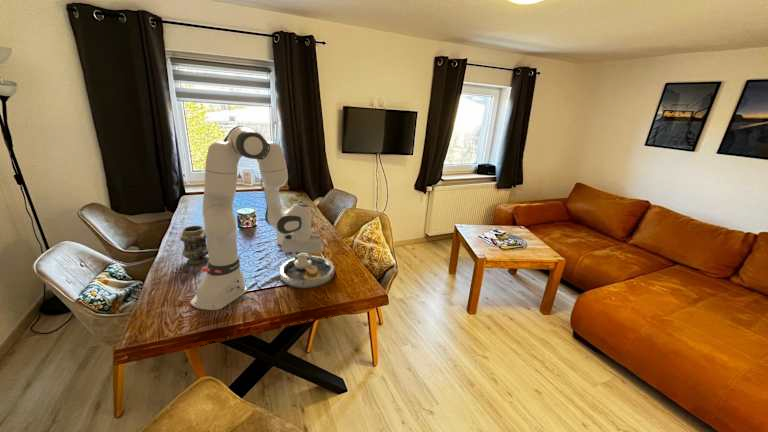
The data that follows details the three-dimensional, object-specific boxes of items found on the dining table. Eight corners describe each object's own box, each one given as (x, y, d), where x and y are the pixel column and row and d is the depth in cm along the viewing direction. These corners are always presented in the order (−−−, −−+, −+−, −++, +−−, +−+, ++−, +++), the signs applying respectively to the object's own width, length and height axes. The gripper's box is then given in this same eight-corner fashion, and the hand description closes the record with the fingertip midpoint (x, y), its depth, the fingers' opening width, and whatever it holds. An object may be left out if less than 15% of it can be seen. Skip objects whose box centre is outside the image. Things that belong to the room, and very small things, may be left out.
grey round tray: (322, 292, 137) (322, 278, 135) (269, 283, 141) (268, 269, 139) (340, 265, 161) (341, 253, 159) (294, 257, 165) (294, 245, 163)
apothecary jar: (207, 253, 163) (203, 222, 157) (214, 262, 155) (210, 229, 149) (181, 259, 155) (175, 227, 149) (187, 269, 147) (181, 235, 141)
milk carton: (285, 247, 176) (283, 216, 170) (277, 243, 180) (275, 213, 173) (294, 243, 182) (293, 213, 176) (286, 239, 186) (285, 210, 179)
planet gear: (309, 269, 152) (309, 259, 150) (292, 268, 151) (292, 258, 149) (312, 261, 159) (312, 251, 158) (296, 260, 159) (296, 250, 157)
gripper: (324, 233, 153) (324, 257, 158) (283, 230, 152) (284, 255, 157) (322, 238, 147) (322, 263, 152) (279, 235, 146) (280, 261, 151)
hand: (302, 259), depth 154 cm, fingers closed on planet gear, 5 cm apart
